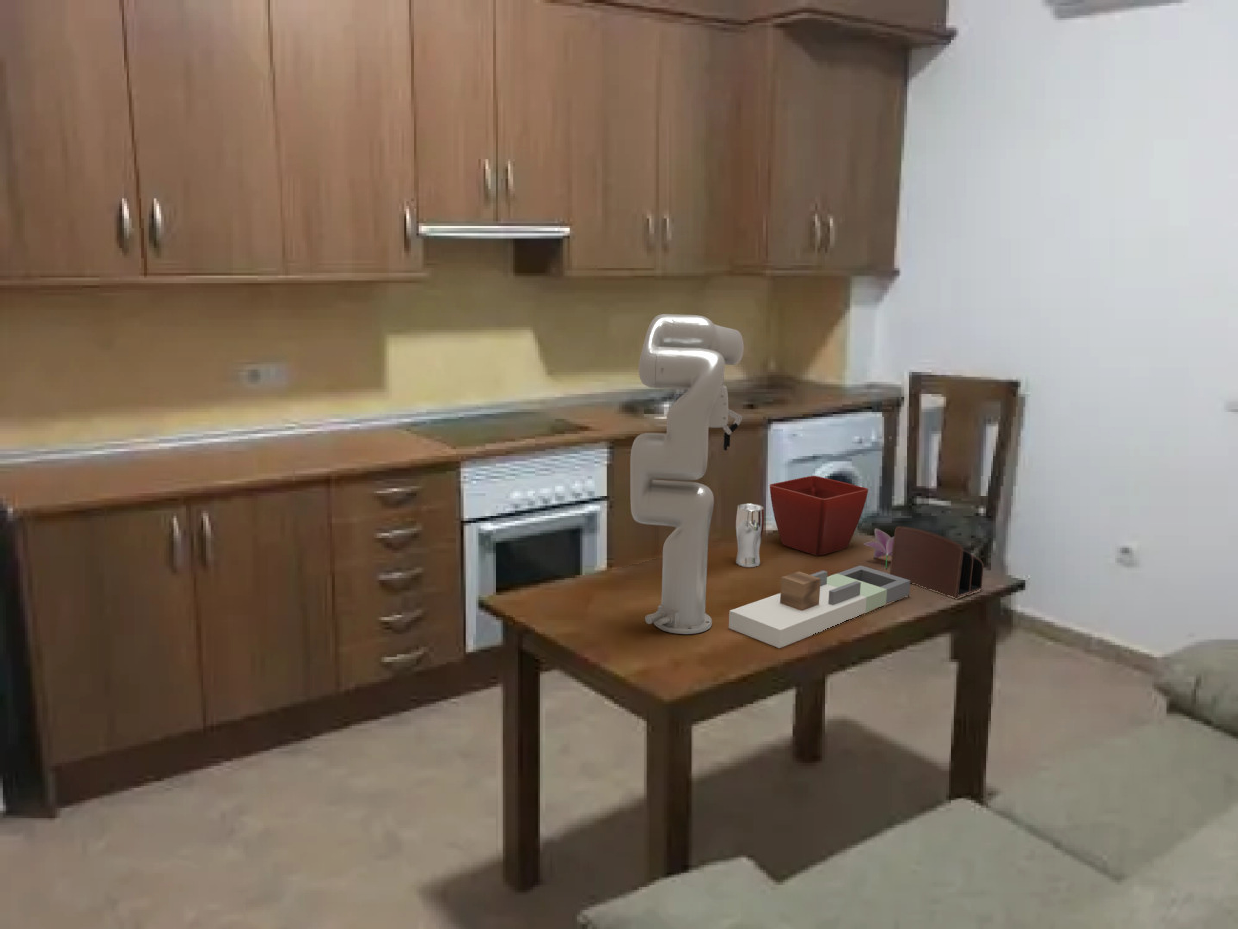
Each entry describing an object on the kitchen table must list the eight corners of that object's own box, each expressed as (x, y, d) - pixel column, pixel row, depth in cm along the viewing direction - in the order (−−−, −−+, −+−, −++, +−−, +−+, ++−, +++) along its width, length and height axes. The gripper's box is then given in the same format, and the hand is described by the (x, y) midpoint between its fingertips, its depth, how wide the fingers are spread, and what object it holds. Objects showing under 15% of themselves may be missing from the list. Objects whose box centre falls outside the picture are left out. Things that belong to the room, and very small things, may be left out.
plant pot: (810, 532, 297) (813, 474, 293) (865, 549, 282) (870, 488, 278) (764, 544, 285) (767, 484, 281) (819, 562, 270) (824, 499, 266)
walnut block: (801, 610, 226) (803, 584, 225) (779, 603, 230) (781, 577, 229) (818, 604, 230) (820, 578, 229) (797, 597, 234) (798, 571, 233)
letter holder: (956, 600, 246) (962, 543, 242) (888, 577, 261) (893, 522, 258) (981, 592, 252) (987, 536, 248) (914, 569, 267) (918, 516, 264)
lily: (920, 573, 267) (921, 536, 270) (896, 564, 260) (896, 526, 262) (879, 576, 276) (880, 540, 278) (854, 567, 268) (855, 530, 271)
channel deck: (779, 648, 216) (781, 616, 215) (728, 628, 226) (730, 597, 225) (909, 596, 247) (911, 568, 246) (859, 580, 257) (861, 553, 256)
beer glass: (741, 557, 273) (743, 501, 270) (765, 562, 270) (768, 506, 266) (729, 564, 267) (732, 508, 264) (754, 569, 264) (757, 512, 260)
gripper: (673, 381, 254) (670, 450, 258) (744, 383, 253) (741, 453, 257) (673, 377, 261) (670, 444, 265) (743, 379, 260) (739, 446, 264)
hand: (705, 448), depth 261 cm, fingers open, 9 cm apart
